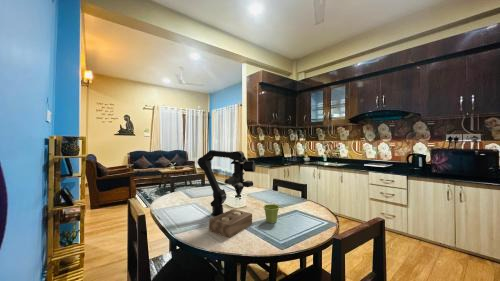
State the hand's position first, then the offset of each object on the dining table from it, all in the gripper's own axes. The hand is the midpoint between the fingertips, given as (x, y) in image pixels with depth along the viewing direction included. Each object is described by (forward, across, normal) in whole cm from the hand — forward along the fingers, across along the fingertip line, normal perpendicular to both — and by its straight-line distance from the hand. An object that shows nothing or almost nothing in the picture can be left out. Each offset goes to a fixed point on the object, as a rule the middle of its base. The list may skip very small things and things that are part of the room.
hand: (238, 196), depth 127 cm
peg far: (+13, +6, -9) cm, 17 cm away
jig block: (+13, +6, -14) cm, 20 cm away
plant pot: (+13, +20, +6) cm, 25 cm away
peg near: (+13, +6, -19) cm, 24 cm away
